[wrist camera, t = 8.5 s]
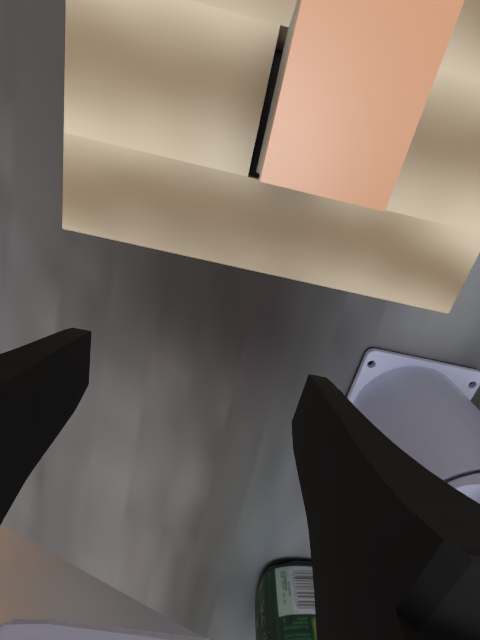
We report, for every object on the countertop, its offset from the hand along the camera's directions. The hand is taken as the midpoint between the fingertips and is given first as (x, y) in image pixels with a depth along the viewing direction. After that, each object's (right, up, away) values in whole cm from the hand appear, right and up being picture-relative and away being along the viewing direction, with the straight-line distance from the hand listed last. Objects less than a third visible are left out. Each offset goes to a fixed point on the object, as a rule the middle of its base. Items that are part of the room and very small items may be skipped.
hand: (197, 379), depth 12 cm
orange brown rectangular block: (+4, +10, +3) cm, 12 cm away
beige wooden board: (+4, +12, +6) cm, 14 cm away
